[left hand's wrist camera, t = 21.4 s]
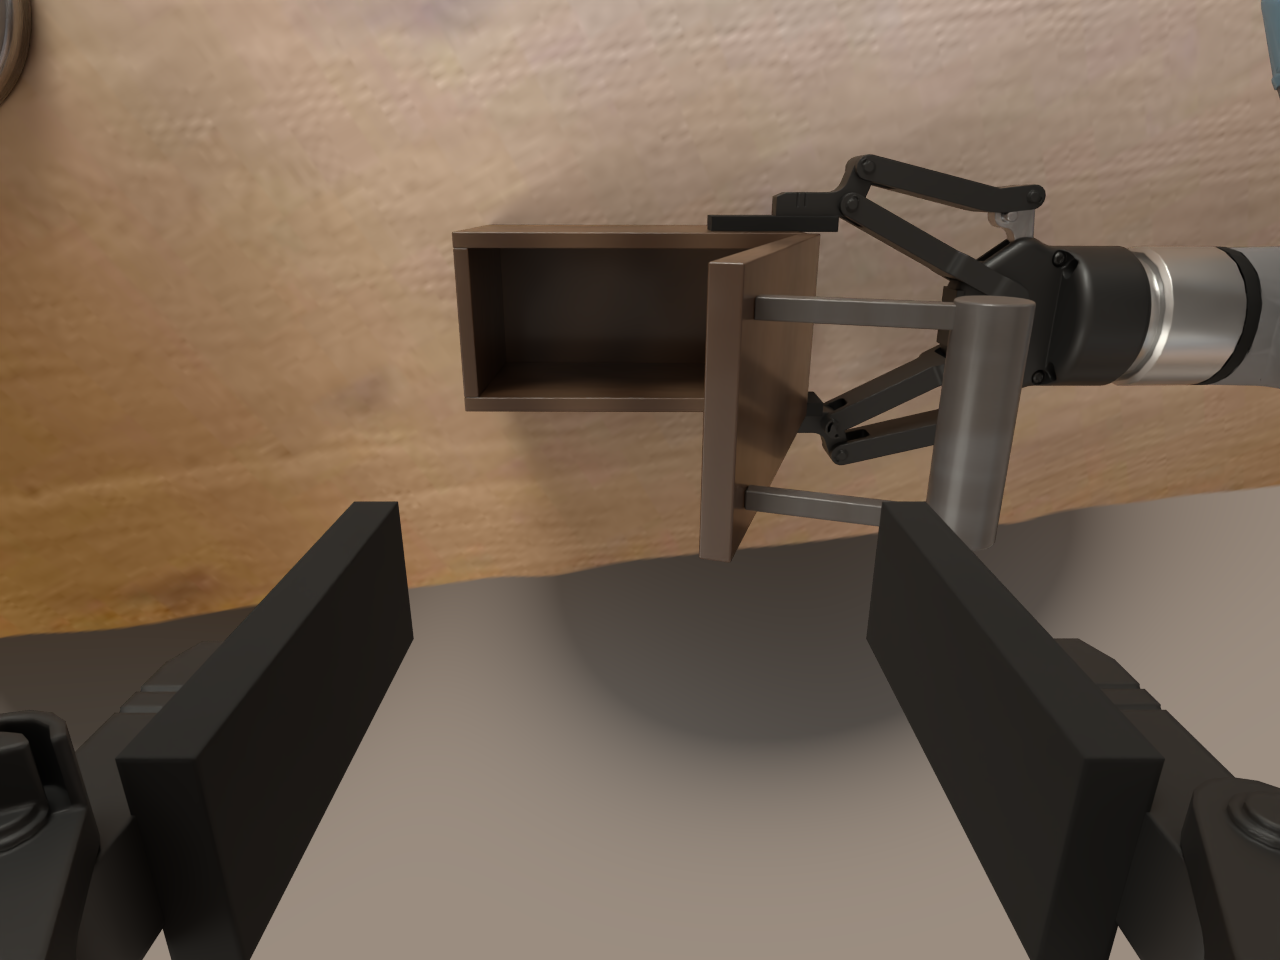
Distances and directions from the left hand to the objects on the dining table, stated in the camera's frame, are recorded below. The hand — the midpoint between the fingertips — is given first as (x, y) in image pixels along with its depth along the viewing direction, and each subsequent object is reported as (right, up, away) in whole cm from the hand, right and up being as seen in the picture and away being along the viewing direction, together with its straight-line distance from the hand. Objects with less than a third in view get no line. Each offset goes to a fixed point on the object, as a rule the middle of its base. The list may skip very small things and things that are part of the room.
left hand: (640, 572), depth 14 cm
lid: (+5, +6, +18) cm, 19 cm away
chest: (-1, +13, +36) cm, 38 cm away
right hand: (+4, +11, +29) cm, 31 cm away
